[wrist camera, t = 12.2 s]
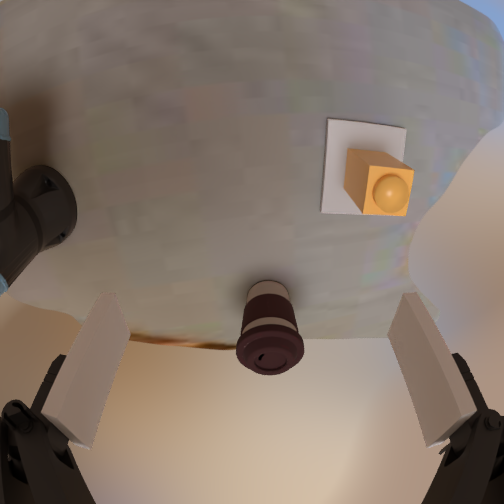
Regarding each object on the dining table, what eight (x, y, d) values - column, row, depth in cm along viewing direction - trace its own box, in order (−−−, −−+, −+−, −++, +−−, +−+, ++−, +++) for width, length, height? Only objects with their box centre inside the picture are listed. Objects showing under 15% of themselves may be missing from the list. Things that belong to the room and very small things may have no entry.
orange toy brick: (343, 188, 41) (365, 218, 32) (347, 148, 38) (373, 168, 29) (380, 190, 41) (409, 220, 32) (385, 152, 38) (419, 173, 29)
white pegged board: (319, 210, 44) (329, 232, 38) (326, 118, 37) (340, 124, 31) (390, 213, 44) (408, 233, 38) (403, 128, 37) (426, 137, 31)
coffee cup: (305, 299, 53) (317, 365, 40) (261, 323, 56) (262, 388, 44) (275, 263, 49) (280, 329, 36) (228, 291, 52) (221, 357, 40)
